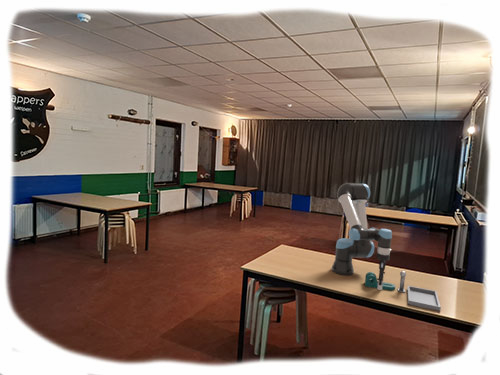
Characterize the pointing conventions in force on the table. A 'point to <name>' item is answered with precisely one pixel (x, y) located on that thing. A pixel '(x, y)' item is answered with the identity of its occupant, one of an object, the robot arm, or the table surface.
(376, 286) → the bracket
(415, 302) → the bin
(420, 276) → the table surface
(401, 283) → the ball stud
